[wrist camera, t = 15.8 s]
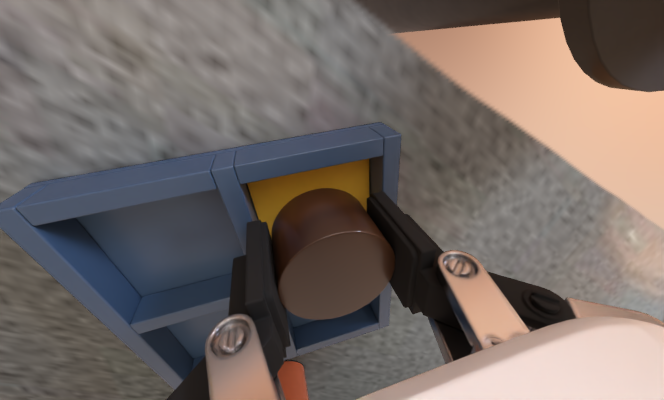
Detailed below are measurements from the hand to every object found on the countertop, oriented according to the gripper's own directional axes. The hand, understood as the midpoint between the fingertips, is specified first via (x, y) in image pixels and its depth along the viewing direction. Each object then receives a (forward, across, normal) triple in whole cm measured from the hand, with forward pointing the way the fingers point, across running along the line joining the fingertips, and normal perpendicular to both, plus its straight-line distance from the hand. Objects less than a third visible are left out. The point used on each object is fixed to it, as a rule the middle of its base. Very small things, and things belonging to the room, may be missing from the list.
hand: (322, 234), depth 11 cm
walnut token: (0, 0, 0) cm, 0 cm away
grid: (+2, +3, +3) cm, 5 cm away
